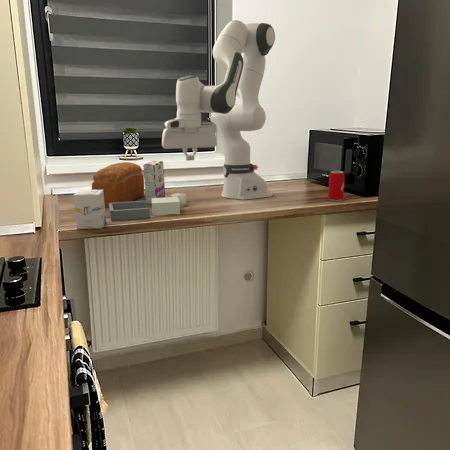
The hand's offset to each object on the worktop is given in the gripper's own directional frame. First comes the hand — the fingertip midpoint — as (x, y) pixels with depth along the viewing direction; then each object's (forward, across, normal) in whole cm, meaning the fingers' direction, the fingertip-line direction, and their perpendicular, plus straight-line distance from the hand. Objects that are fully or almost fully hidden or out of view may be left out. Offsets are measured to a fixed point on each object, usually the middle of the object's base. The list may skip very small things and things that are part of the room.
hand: (190, 160), depth 168 cm
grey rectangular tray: (+19, +23, 0) cm, 30 cm away
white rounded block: (+19, +3, -10) cm, 22 cm away
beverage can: (+19, -61, +2) cm, 64 cm away
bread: (+20, +25, -27) cm, 42 cm away
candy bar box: (+19, +11, -20) cm, 30 cm away
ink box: (+19, +37, +11) cm, 43 cm away
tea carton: (+19, +10, 0) cm, 22 cm away
